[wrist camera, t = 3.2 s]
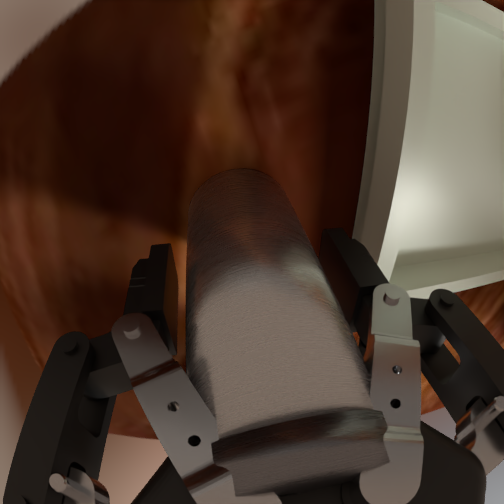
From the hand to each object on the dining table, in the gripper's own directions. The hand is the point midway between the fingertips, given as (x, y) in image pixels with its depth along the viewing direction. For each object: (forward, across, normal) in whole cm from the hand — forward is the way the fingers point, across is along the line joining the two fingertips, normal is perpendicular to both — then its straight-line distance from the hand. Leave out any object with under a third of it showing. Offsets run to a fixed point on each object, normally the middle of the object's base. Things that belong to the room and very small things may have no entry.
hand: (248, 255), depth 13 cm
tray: (+3, -14, -4) cm, 15 cm away
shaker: (+3, 0, 0) cm, 3 cm away
